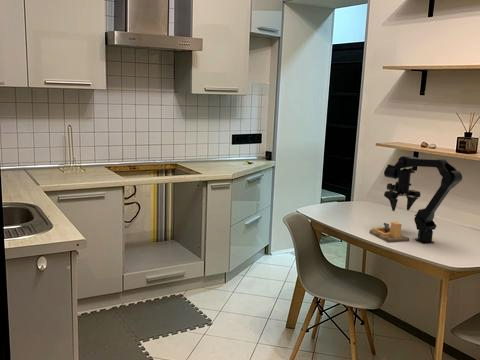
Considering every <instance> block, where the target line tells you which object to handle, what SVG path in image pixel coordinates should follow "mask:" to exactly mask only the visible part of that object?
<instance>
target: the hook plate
mask: <svg viewBox="0 0 480 360" xmlns="http://www.w3.org/2000/svg"><path fill="white" fill-rule="evenodd" d="M383 226H384V227H385V228H384V230H382V232H384V233H390V231H389V227H390V223H386V222H384V223H383ZM369 234H371V235H373V236H374V237H377V238H379V239H380V240H383V241H385V242H387V244H389V243H399V242H400V243H401V242H403V243H404V242H410V237H408V236H406V235H404V234H402V233H401V235H400V238H393V237H391V236H382V235H380V234H378V233H376V232H374V231H372V229H370V230H369Z"/></svg>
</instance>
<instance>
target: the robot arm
mask: <svg viewBox="0 0 480 360" xmlns="http://www.w3.org/2000/svg"><path fill="white" fill-rule="evenodd" d="M412 167H414V168H415V167H424V168H436V169H437V170H438V173H439V175H440V176H441V177H442V178H441V180H440V186H439V187H438V189H437V190H436V191H435V193H434V195H433V196H432V198H431V199H430V201H429V202H428V203H427V205H426V207H425V208H420V209H418V210H417V212H416V214H415V215H414V219H413V220H414V223H415V227H416V230H417V232H418V233H417V238H415V239H414V240H415V241H417V242H419V243H421V244H423V245H425V244H435V241H433V234H434V231H433V230H436V228H437V225H436V223H435V221H434V218H435V212H437V209H438V208H439V207H440V205H441V204H442V203H443V201H444V200H445V198H446V197H447V195H448V193H450V191H451V190H452V189H453V188H455V187H456V186H458V184H459V183H460V182H462V179H463V174H462V172H461V171H460V170H457V168H455V167H454V166H453V165H452V164H450V163H449V162H448V161H447V160H446V159H444V158H440V159H438V158H437V159H436V158H420V157H419V158H418V157H416V156H412V155H402V156H400V157H398V161H397V162H396V163H395V164H394V165H393V164H391V163H390V164H387V167H385V169H384V172H383V173H384V177H385V178H388V179H389V178H390V179H393V180H397V181H395V184H392V182H391V183H387V184H386V190H385V191H384V193H383V197H385V198H386V199H388V201H389V203H390V206H391V211H392V212H395V210H396V207H397V205H398V204H397V203H398V201H399V200H398V197H403V196H404V197H406V199H407V200H406V210H407V211H410V209H411V208H412V206H413V205H414V203H415V202H416V201H417V200H418V199H419V198H421V192H420V191H419V190H415V189H410V187H411V186H412V183H411V176H412V174H415V173H416V171H415V169H413V168H412Z"/></svg>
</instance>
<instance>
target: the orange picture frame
mask: <svg viewBox="0 0 480 360" xmlns="http://www.w3.org/2000/svg"><path fill="white" fill-rule="evenodd" d="M384 228H385V226H384V227H372V229H371V230H372V231H374V232H376V233H378V234H380V235H382V236H391V237H393V238H400V235H401V234H402V232H401V231H402V223H400V222H397V221H391V222H390V226H389V231H390V233H384V232H382V230H384Z"/></svg>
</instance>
